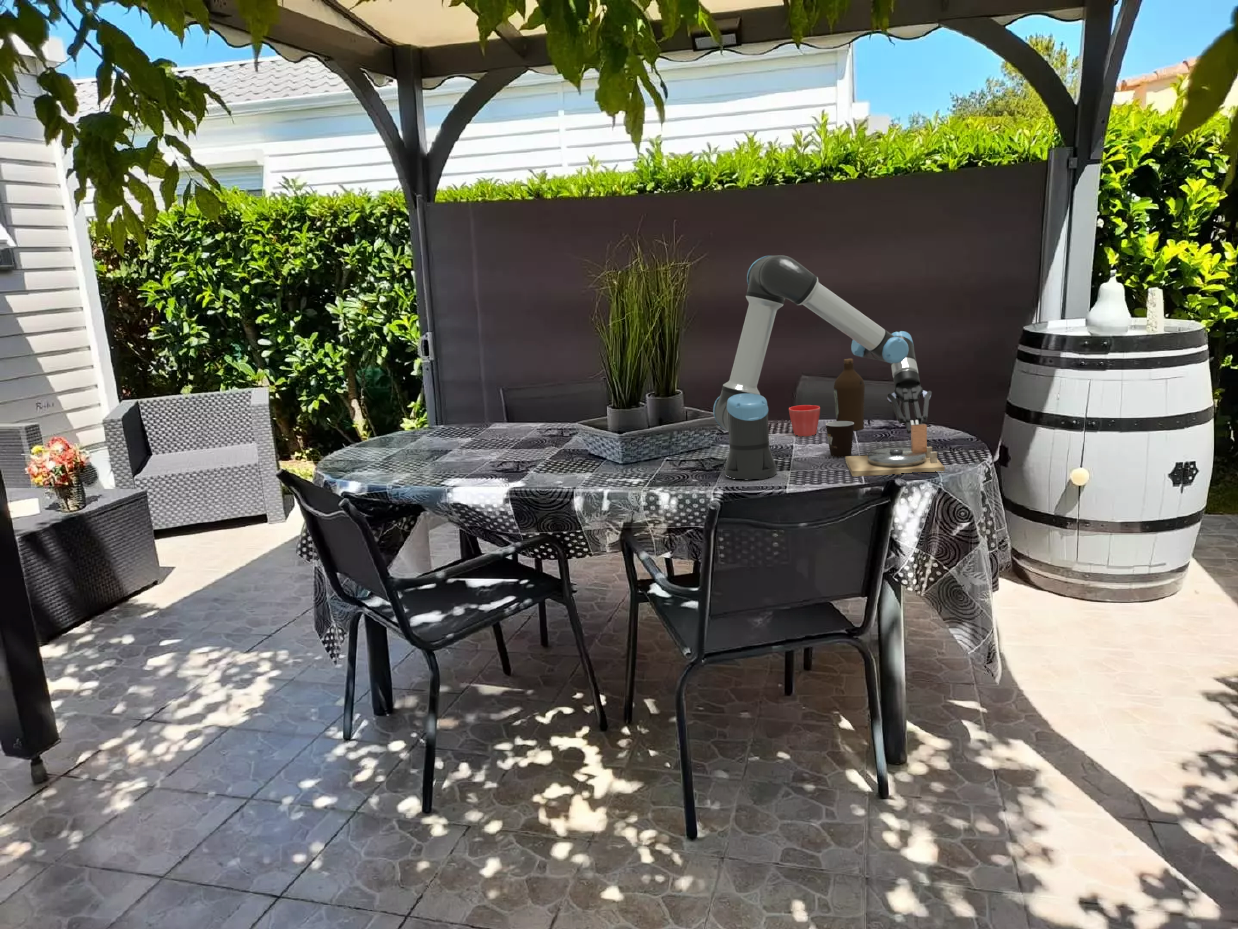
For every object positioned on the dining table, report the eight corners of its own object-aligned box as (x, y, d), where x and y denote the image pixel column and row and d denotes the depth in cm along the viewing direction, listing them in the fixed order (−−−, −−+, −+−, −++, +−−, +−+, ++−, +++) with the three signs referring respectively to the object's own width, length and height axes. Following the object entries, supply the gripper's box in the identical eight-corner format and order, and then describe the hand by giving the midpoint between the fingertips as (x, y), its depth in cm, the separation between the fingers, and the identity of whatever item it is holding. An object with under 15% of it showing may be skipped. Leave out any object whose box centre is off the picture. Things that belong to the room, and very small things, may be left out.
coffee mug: (855, 457, 269) (855, 425, 267) (827, 458, 271) (826, 426, 269) (853, 449, 280) (852, 418, 278) (826, 450, 282) (825, 420, 280)
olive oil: (866, 425, 316) (865, 356, 310) (864, 431, 306) (862, 360, 301) (836, 426, 320) (834, 357, 314) (833, 431, 310) (831, 361, 304)
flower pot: (824, 436, 304) (823, 408, 302) (792, 438, 305) (791, 411, 303) (817, 430, 315) (816, 403, 313) (787, 432, 315) (786, 406, 313)
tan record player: (852, 476, 247) (851, 460, 246) (845, 461, 265) (845, 446, 264) (944, 472, 243) (944, 456, 242) (931, 457, 261) (931, 442, 260)
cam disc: (875, 468, 246) (874, 433, 244) (862, 456, 262) (861, 423, 260) (934, 464, 245) (934, 429, 243) (917, 452, 261) (917, 419, 259)
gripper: (927, 382, 269) (939, 446, 256) (881, 385, 271) (891, 449, 259) (930, 367, 262) (943, 432, 250) (883, 370, 265) (893, 435, 252)
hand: (916, 441), depth 254 cm, fingers closed
